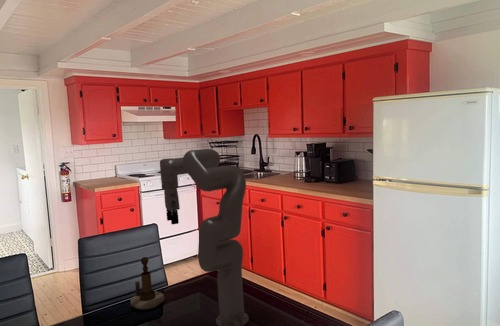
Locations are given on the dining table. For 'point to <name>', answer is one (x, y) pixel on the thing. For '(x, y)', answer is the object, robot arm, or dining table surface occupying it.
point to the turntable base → (147, 308)
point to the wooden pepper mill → (146, 283)
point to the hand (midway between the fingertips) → (172, 222)
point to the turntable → (145, 304)
